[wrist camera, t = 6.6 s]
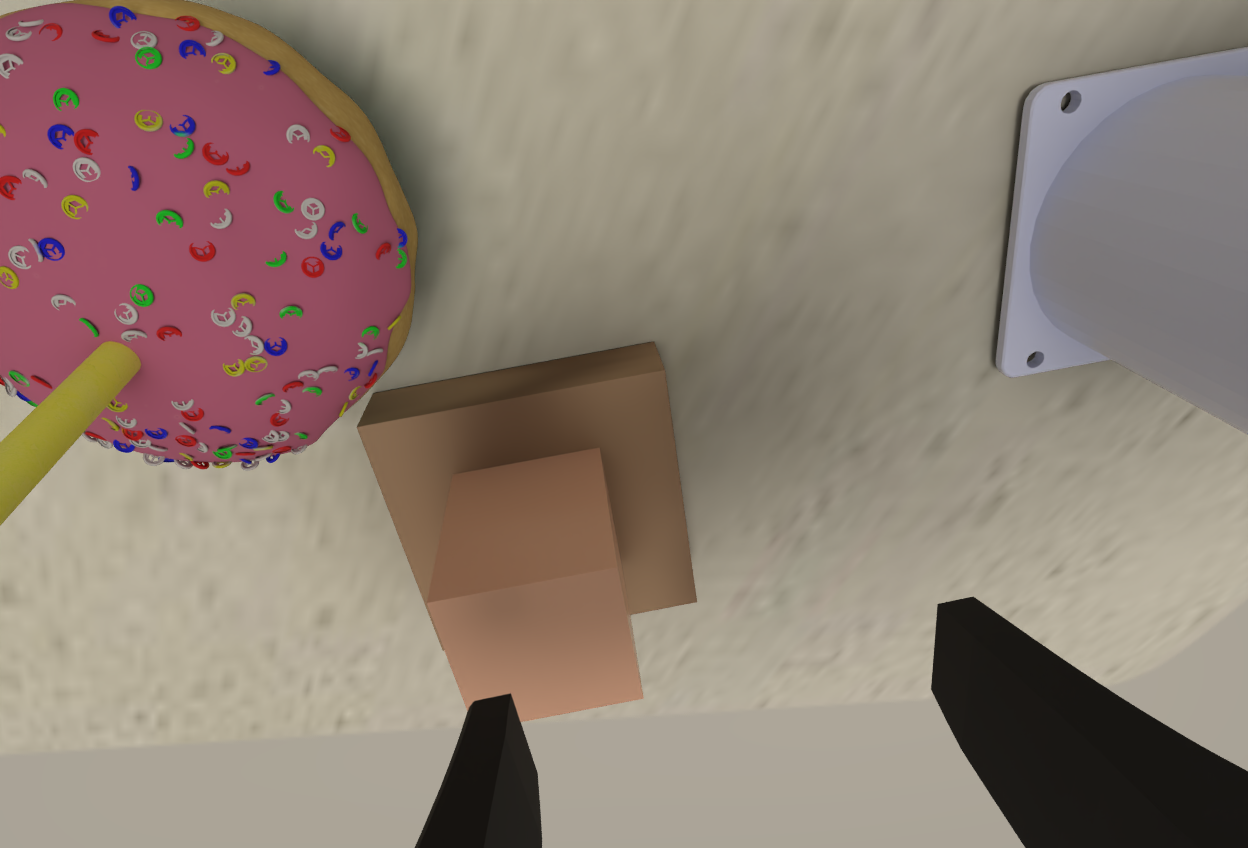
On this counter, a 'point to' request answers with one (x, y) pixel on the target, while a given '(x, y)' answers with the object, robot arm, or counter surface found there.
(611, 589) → the block
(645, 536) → the base
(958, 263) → the counter surface
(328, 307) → the cupcake
